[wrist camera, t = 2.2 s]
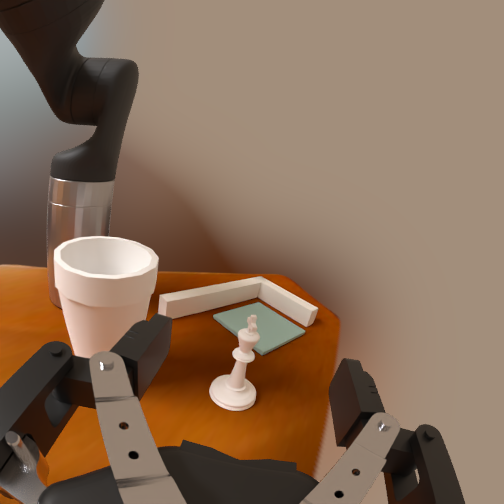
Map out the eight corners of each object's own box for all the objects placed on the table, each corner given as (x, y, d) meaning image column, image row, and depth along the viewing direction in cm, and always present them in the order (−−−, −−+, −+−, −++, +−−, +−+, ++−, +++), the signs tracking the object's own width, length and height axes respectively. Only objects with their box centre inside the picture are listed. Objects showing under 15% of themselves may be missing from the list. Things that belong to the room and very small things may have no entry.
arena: (158, 313, 38) (159, 294, 38) (256, 290, 54) (260, 276, 53) (221, 374, 30) (225, 354, 29) (317, 326, 45) (323, 311, 44)
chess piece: (249, 378, 30) (271, 303, 27) (261, 409, 26) (290, 332, 23) (206, 377, 29) (221, 299, 26) (213, 411, 24) (232, 331, 21)
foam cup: (88, 412, 19) (68, 286, 15) (56, 352, 24) (44, 240, 21) (168, 382, 26) (180, 268, 23) (125, 334, 32) (130, 233, 28)
